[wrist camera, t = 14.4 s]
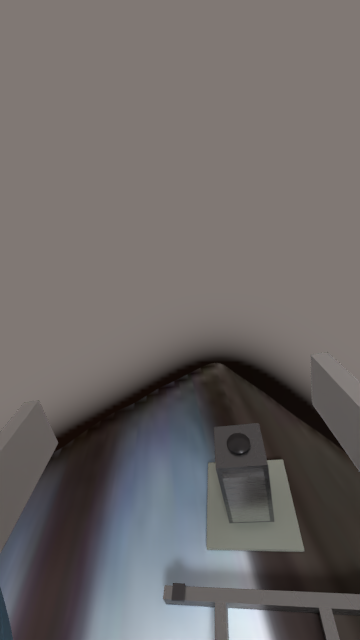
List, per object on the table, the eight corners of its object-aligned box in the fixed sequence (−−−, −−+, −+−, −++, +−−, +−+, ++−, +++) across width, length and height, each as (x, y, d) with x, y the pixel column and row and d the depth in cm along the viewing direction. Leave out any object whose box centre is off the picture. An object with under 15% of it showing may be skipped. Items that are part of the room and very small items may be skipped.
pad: (207, 549, 30) (206, 547, 30) (208, 464, 39) (208, 462, 39) (304, 551, 29) (304, 549, 28) (283, 461, 37) (282, 459, 37)
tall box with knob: (229, 527, 32) (215, 470, 27) (225, 477, 37) (213, 422, 32) (275, 525, 31) (268, 467, 26) (265, 475, 36) (257, 418, 31)
